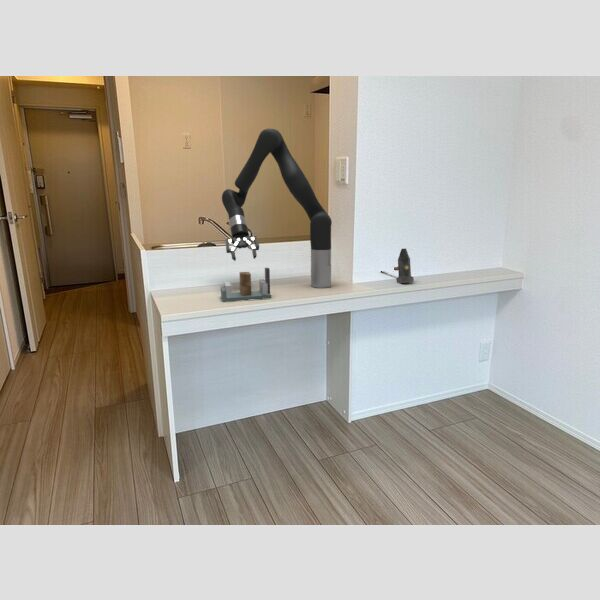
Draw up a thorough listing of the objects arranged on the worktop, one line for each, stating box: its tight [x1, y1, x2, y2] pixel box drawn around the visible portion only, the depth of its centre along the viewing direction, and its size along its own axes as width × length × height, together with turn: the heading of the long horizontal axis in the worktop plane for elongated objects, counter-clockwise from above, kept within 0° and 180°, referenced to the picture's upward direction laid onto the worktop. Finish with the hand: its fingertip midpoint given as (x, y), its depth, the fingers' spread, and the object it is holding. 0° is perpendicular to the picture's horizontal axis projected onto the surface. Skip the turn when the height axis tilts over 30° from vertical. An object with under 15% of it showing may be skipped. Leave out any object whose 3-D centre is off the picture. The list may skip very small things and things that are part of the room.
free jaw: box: [258, 267, 271, 295], centre depth 196 cm, size 4×9×10 cm, turn 14°
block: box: [238, 271, 252, 296], centre depth 194 cm, size 4×5×9 cm
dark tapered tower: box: [393, 248, 414, 284], centre depth 231 cm, size 6×16×30 cm
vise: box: [220, 280, 272, 303], centre depth 195 cm, size 20×9×6 cm, turn 104°
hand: (244, 258), depth 200 cm, fingers open, 8 cm apart
